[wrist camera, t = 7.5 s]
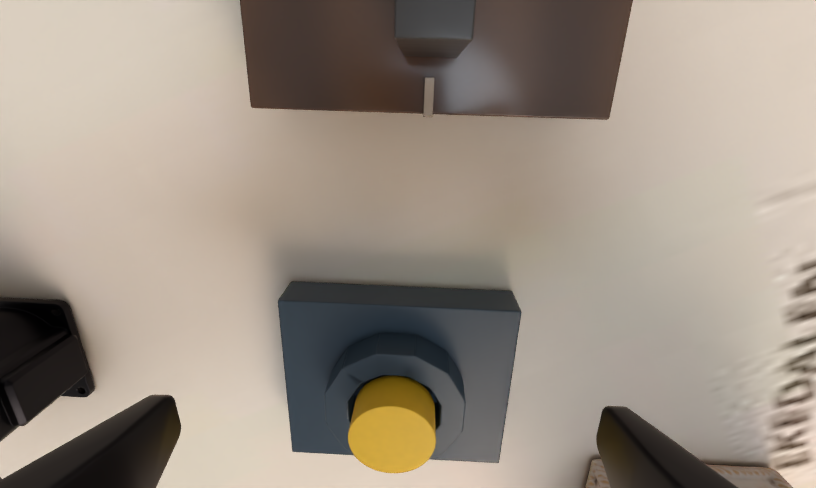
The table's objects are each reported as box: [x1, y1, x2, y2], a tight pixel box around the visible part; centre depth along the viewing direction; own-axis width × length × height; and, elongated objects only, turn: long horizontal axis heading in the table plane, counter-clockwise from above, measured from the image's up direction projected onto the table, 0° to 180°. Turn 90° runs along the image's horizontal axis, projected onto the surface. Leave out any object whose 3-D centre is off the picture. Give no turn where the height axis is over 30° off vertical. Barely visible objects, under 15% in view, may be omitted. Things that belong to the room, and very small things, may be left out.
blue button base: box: [278, 281, 521, 463], centre depth 21 cm, size 12×10×4 cm
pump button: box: [348, 376, 436, 473], centre depth 19 cm, size 4×4×2 cm
